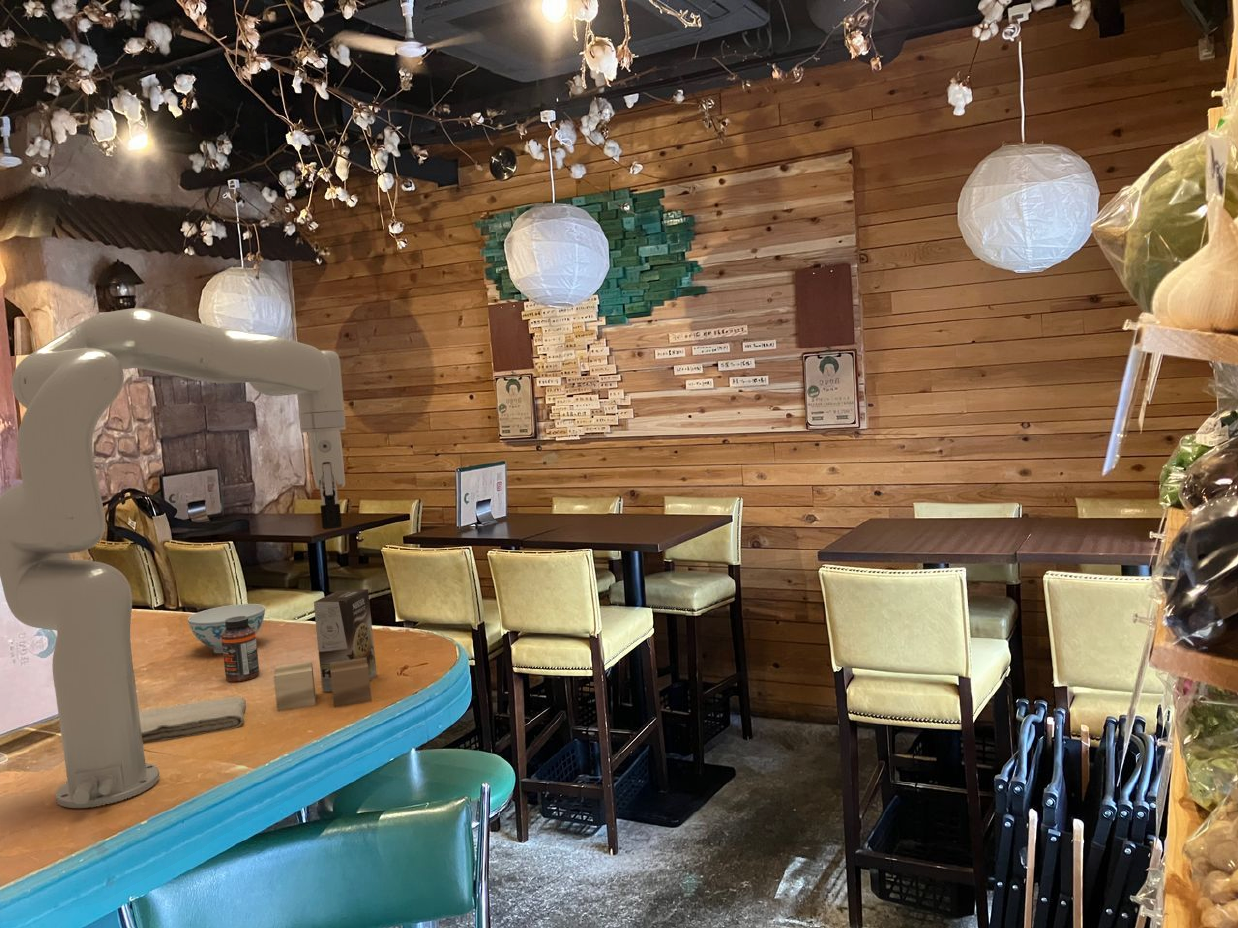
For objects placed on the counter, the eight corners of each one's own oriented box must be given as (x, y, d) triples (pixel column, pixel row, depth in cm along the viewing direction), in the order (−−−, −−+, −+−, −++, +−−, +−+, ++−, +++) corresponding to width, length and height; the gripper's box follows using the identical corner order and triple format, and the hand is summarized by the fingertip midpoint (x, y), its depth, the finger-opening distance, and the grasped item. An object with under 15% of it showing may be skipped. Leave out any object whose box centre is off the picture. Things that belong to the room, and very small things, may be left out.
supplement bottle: (218, 681, 182) (211, 621, 181) (244, 671, 187) (237, 613, 186) (241, 683, 179) (234, 623, 178) (266, 673, 184) (260, 614, 183)
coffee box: (355, 692, 169) (345, 600, 168) (321, 692, 170) (311, 601, 169) (378, 675, 178) (369, 587, 176) (346, 675, 179) (336, 589, 178)
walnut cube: (371, 701, 164) (368, 666, 163) (334, 707, 162) (330, 672, 161) (369, 691, 169) (366, 657, 169) (333, 696, 168) (330, 662, 167)
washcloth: (132, 726, 162) (129, 708, 161) (247, 707, 167) (245, 689, 167) (119, 751, 150) (117, 731, 150) (244, 729, 156) (242, 710, 156)
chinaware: (192, 647, 209) (188, 611, 208) (266, 634, 215) (262, 600, 214) (191, 664, 195) (187, 626, 194) (271, 650, 201) (267, 613, 200)
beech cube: (315, 705, 164) (311, 670, 163) (277, 711, 162) (273, 676, 162) (315, 694, 170) (311, 660, 169) (279, 700, 168) (275, 666, 167)
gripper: (346, 421, 164) (355, 530, 165) (344, 420, 178) (352, 520, 179) (299, 425, 161) (309, 535, 163) (300, 423, 176) (310, 525, 177)
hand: (332, 527), depth 171 cm, fingers closed
